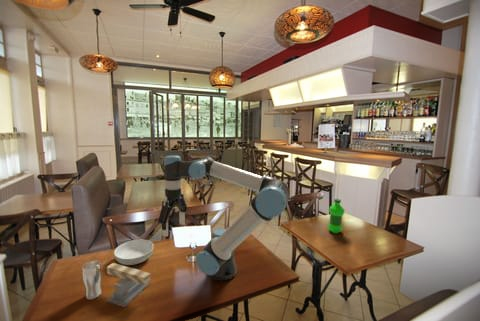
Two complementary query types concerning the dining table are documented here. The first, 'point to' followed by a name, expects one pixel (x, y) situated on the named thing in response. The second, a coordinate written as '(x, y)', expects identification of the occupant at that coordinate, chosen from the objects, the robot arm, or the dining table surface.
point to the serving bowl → (133, 252)
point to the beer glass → (92, 279)
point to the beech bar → (129, 273)
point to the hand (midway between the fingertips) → (174, 229)
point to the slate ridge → (125, 291)
